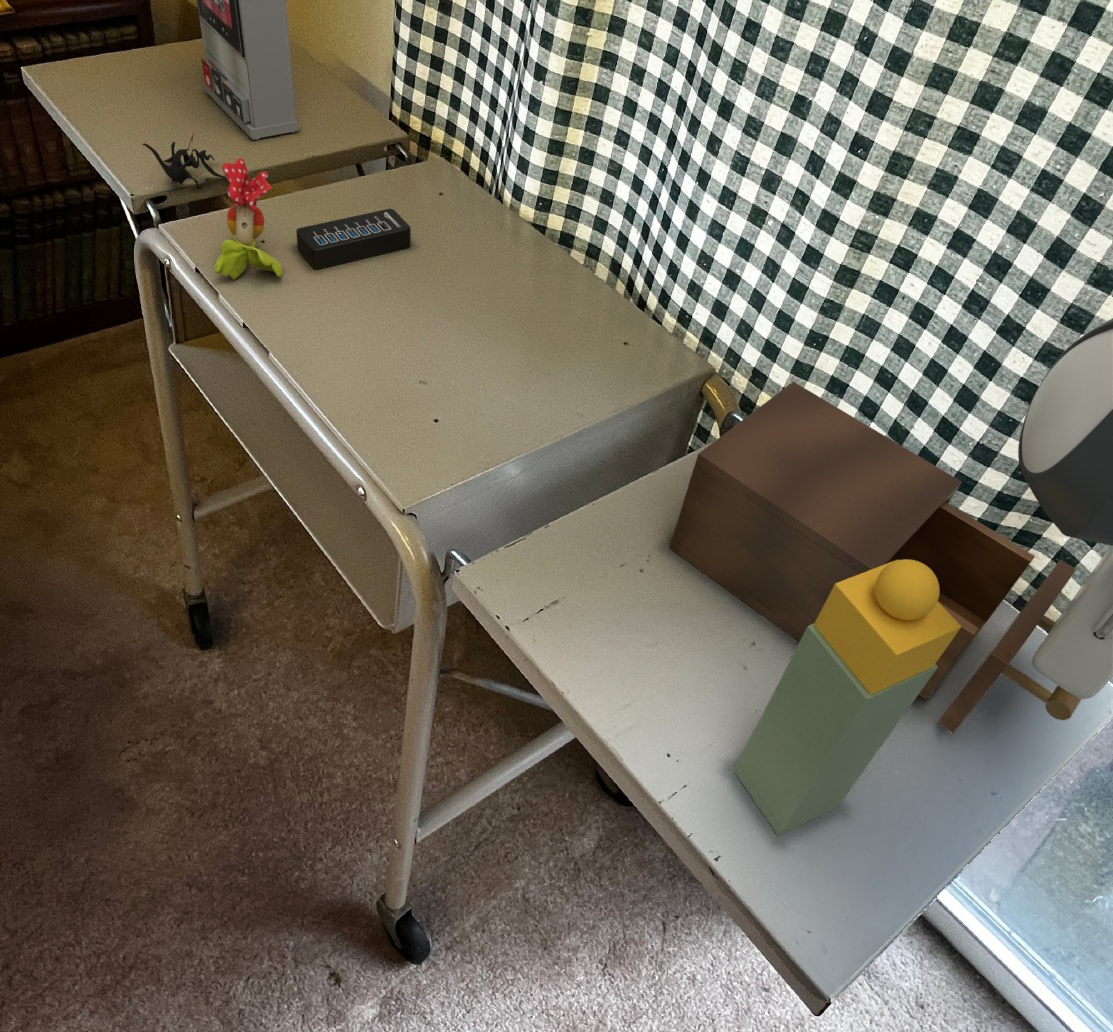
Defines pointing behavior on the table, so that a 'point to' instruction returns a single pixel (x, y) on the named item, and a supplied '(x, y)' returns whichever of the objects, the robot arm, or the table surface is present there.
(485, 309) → the table surface
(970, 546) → the drawer
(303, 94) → the table surface
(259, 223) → the multicoloured upright piece
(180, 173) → the creature
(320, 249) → the multiport hub
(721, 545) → the cabinet
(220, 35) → the cassette tape recorder
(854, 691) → the green rectangular block
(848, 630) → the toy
